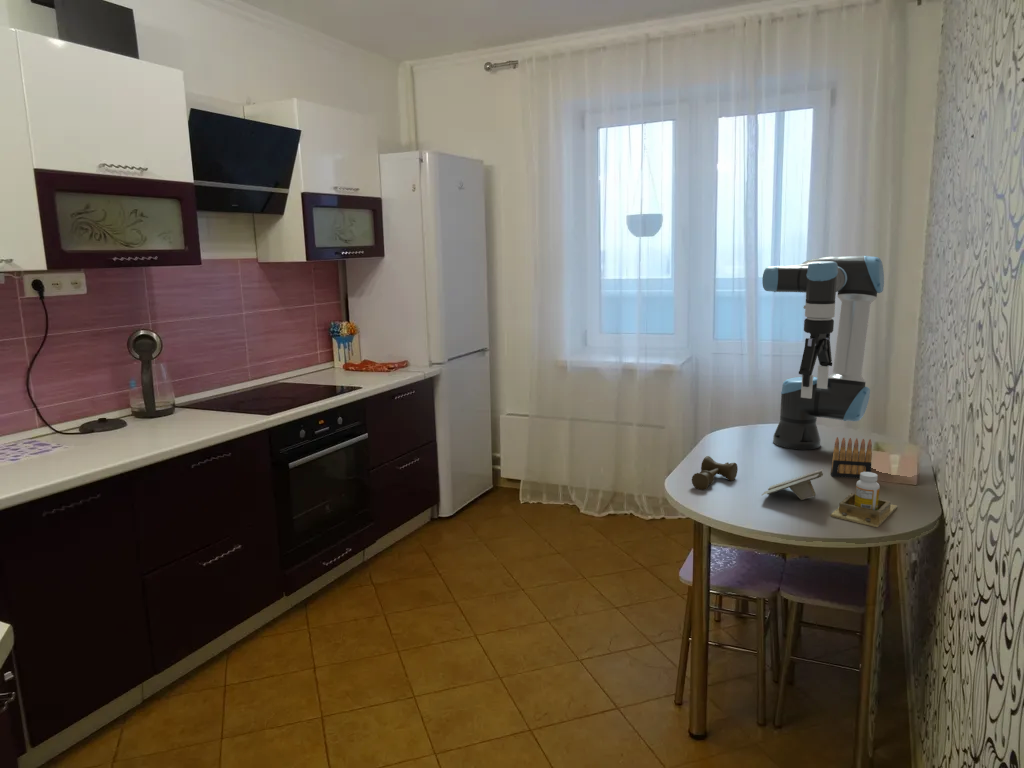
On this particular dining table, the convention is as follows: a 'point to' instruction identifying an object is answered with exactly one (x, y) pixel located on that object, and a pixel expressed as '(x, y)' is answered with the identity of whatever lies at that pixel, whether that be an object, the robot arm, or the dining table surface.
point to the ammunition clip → (851, 459)
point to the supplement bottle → (867, 491)
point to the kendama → (713, 472)
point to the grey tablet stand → (798, 485)
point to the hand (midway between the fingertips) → (814, 392)
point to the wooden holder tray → (863, 512)
